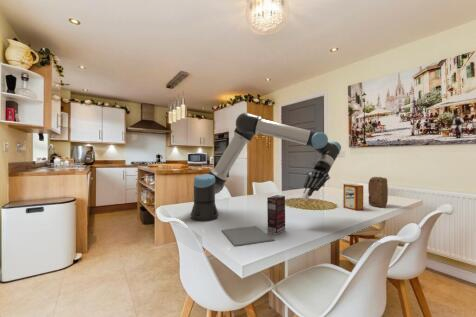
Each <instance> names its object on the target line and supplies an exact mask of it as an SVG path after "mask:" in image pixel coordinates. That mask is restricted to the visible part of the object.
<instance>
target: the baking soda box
mask: <svg viewBox="0 0 476 317" xmlns="http://www.w3.org/2000/svg"><path fill="white" fill-rule="evenodd" d="M342 198H343V200H342V201H343V208H344V209H347V210H352V211H356V212H357V211H358V212H359V211H364V185H362V184H354V183H344V184H343V196H342Z"/></svg>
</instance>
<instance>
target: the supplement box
mask: <svg viewBox="0 0 476 317" xmlns="http://www.w3.org/2000/svg"><path fill="white" fill-rule="evenodd" d="M266 204H267V207H266V208H267V213H266V214H267V234H269V235H274V236H278V235H279V234H281V233H283V232H285V231H286V196H285V195H279V194H276V195H273V196H269V197H267V201H266Z"/></svg>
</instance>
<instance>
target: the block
mask: <svg viewBox="0 0 476 317" xmlns="http://www.w3.org/2000/svg"><path fill="white" fill-rule="evenodd" d="M367 186H368V187H367V189H368V204H369V205H370V206H373V207H376V208H386V206H387V204H388V196H389V195H388V192H389V191H388V190H389V187H388V179H387V177H382V176H372V177H370V179H369V180H368V185H367Z"/></svg>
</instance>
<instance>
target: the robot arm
mask: <svg viewBox="0 0 476 317" xmlns="http://www.w3.org/2000/svg"><path fill="white" fill-rule="evenodd" d="M233 134H234V135H233V137H232V138H231V141H230V142H229V144H228V145H227V147H226V149H225V150H224V152H223V154H222V155H221V157H220V159H219V161H218V162H217V164H216V165H215V167H214V168H212V169H210V170H209V172H208V173H206V174H198V175H196V176H195V177H194V178H193V205H192V209H191V211H190V219H191V220H192V221H199V222H207V221H208V222H209V221H212V220H216V219H218V217H219V212H218V208H217V206H216V194H219V193H221V191H223V189H224V187H225V183H226V182H227V180H228V177H227V176H228V174H229V172H230V170H231V169H232V167H233V166H234V164H235V162H236V161H237V159H238V157H239V156H240V154H241V153H242V151H243V149H244V147H245V146H246V144H247V143H250V142H251V141H252V139H253V138H254V136H256V135H258V134H261V135H264V136H269V137H273V138H276V139H280V140H284V141H289V142H293V143H296V144H300V145H305V146H307V147H309V148H311V149H312V150H314V151H316V152H317V153H319V154H320V157H319V158H318V160H317V162H316V163H315V165H314V168H313V170H312V171H311V172H306V178H305V180H304V183H303V188H304V189H305V190H304V191H303V195H302V196H301V200H302V201H303V202H305V203H307V202H308V200H309V198H310V197H312V195H313V194H314V192H315V191H316V192H319V190H320V189H321V188H322V187H323V185H324V184H326V182H327V181H329V180H330V179H331V176H330V175H329V172H330V170H331V168H332V167H333V165H334V163H335V161H336V160H337V157H338V156H339V155H340V153H341V151H342V145H341V144H340V143H339V142H338V141H334V140H330V141H329V138H328V135H327V134H326V133H324V132H322V131H321V132H316V131H312V130H309V129H304V128H300V127H297V126H292V125H287V124H284V123H281V122H277V121H272V120H268V119H264V118H262V116H259V115H257V114H253V113H250V112H242V113H241V114H239V115H238V116H237V117H236V120H235V129H234V130H233Z"/></svg>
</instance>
